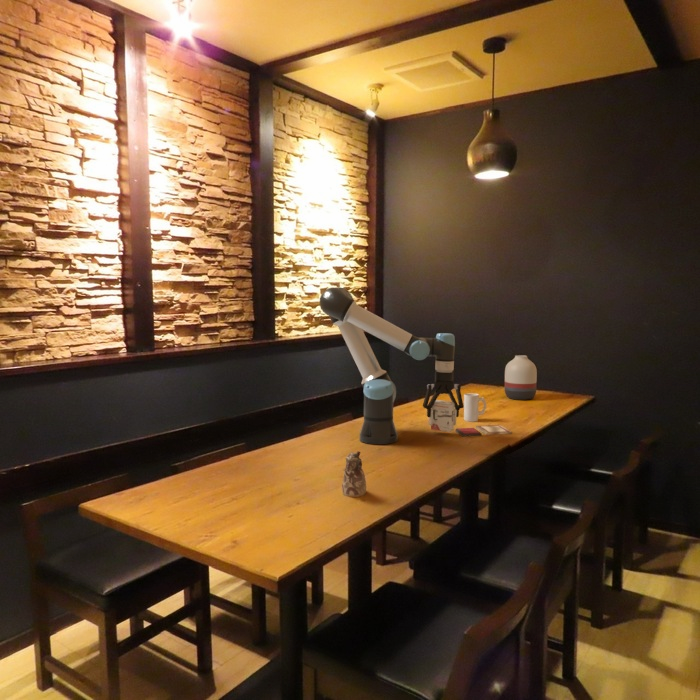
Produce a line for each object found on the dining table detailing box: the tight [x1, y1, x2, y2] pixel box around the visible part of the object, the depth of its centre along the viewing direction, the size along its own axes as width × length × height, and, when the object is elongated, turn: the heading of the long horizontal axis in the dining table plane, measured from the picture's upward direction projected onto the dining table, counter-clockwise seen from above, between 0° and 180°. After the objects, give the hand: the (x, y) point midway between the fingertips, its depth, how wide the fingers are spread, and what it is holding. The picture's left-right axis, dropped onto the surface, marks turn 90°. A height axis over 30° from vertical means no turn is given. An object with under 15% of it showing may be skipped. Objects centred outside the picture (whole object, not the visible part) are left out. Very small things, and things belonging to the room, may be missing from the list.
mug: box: [463, 392, 487, 423], centre depth 273 cm, size 10×7×12 cm, turn 76°
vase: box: [504, 354, 538, 401], centre depth 329 cm, size 17×17×24 cm
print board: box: [475, 424, 513, 436], centre depth 253 cm, size 11×13×1 cm
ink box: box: [430, 399, 455, 433], centre depth 246 cm, size 9×5×12 cm, turn 62°
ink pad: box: [454, 427, 483, 437], centre depth 248 cm, size 8×10×1 cm
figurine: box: [341, 450, 367, 498], centre depth 174 cm, size 7×7×12 cm
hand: (442, 424), depth 247 cm, fingers closed on ink box, 9 cm apart
